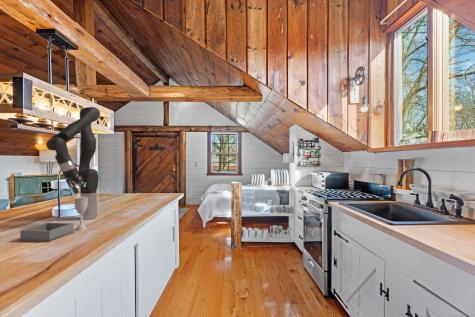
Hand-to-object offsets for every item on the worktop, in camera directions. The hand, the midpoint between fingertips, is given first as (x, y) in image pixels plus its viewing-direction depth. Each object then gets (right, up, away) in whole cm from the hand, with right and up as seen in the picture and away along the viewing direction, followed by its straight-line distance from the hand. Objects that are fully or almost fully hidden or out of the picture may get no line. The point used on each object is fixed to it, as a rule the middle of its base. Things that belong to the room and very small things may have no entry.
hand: (80, 192), depth 151 cm
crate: (+2, -18, -28) cm, 33 cm away
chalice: (+10, -19, -14) cm, 26 cm away
